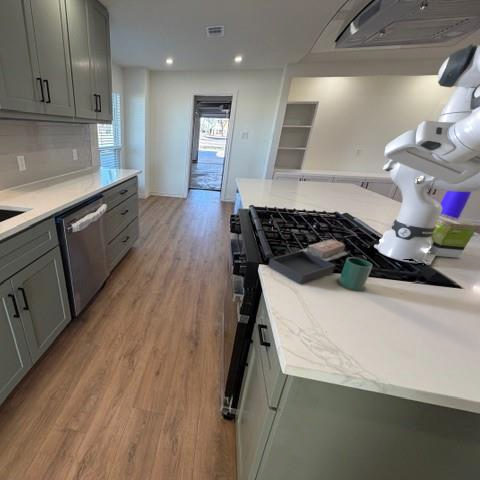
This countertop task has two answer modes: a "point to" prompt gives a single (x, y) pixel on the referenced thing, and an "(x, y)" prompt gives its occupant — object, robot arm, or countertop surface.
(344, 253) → the packaged product
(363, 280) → the enamel cup
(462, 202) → the bottle
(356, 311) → the countertop surface
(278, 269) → the baking tray
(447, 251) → the tea box
